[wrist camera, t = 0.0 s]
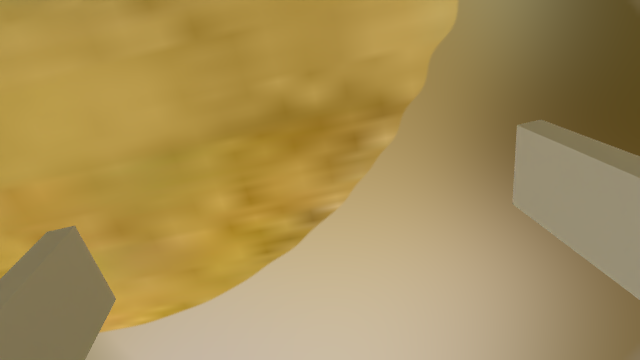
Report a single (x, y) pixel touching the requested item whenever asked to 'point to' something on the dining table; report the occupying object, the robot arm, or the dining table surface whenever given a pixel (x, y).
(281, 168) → the dining table surface
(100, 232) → the dining table surface
